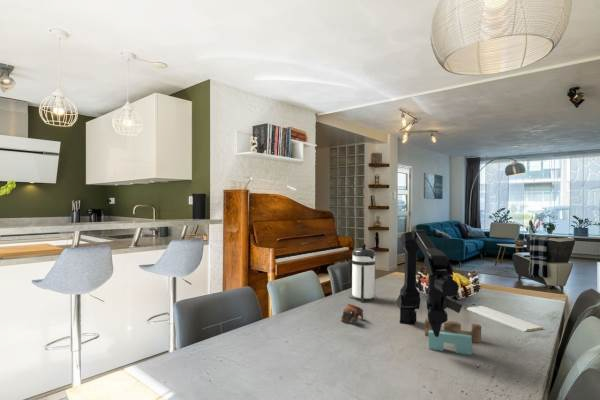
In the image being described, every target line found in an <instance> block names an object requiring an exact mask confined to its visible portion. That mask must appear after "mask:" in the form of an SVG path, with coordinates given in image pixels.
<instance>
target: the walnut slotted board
mask: <svg viewBox="0 0 600 400" xmlns="http://www.w3.org/2000/svg"><path fill="white" fill-rule="evenodd" d="M429 330H432V327H431V325H430V322H429V320H428V318H424V336H426V337H429ZM440 331H441V332H449V333H457V334H466V335H471V337H472V343H473V342H474V343H479V344H481V343H482V325H481V324H477V323H472V324H471V331H470V330H463V329H462V324H461V322H459V321H451V320H447V321H446V322H444V323H443V327H441V329H440Z"/></svg>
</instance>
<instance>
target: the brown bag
mask: <svg viewBox="0 0 600 400" xmlns="http://www.w3.org/2000/svg"><path fill="white" fill-rule="evenodd" d="M359 317H360V320H361V321H363V320H364V309H362V308H361V307H359V306H357V305H355V304H351V303H348V304H347V306H345V307H344V308H343V311H342V315H341V317H340V321H342V322H343V323H346V324H348V325H350V324H351V322H352V323H357V321H358V318H359Z"/></svg>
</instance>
